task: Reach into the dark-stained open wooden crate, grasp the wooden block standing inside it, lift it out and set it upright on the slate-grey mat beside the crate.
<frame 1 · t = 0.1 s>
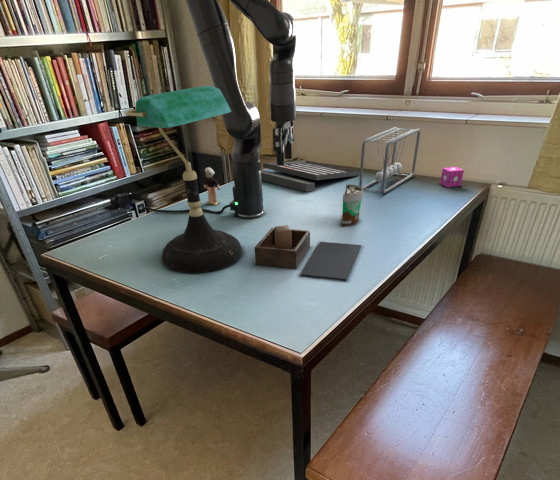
hand: (284, 162, 133), 17 cm above the table, tool pointing down, fingers open, 8 cm apart
food container: (352, 221, 138), on the table
wooden block: (283, 256, 119), resting in crate
grandmother figurine: (213, 204, 158), on the table
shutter: (306, 177, 181), on the table
crate: (283, 255, 119), on the table
mat: (332, 260, 115), on the table
puzzle toy: (449, 185, 164), on the table
banker's lamp: (203, 256, 122), on the table
newton's cradle: (387, 184, 169), on the table
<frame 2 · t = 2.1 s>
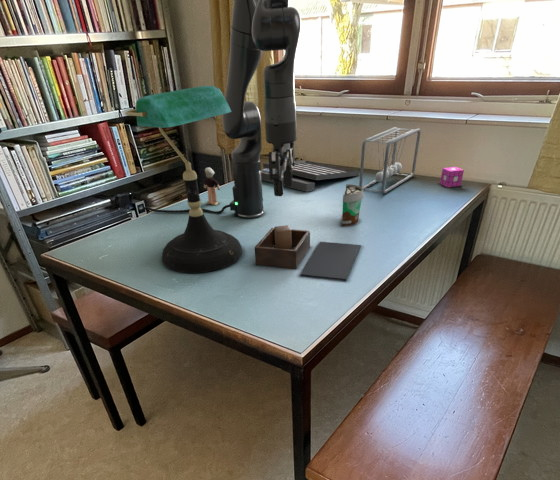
hand: (283, 190, 109), 17 cm above the table, tool pointing down, fingers open, 8 cm apart
nothing on the table moved.
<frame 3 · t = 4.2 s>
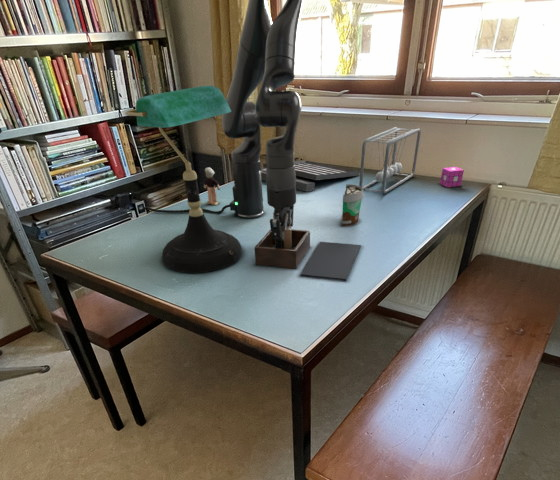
hand: (283, 248, 118), 2 cm above the table, tool pointing down, fingers closed on wooden block, 5 cm apart
wooden block: (283, 256, 119), resting in crate, touching gripper
everything else where it was.
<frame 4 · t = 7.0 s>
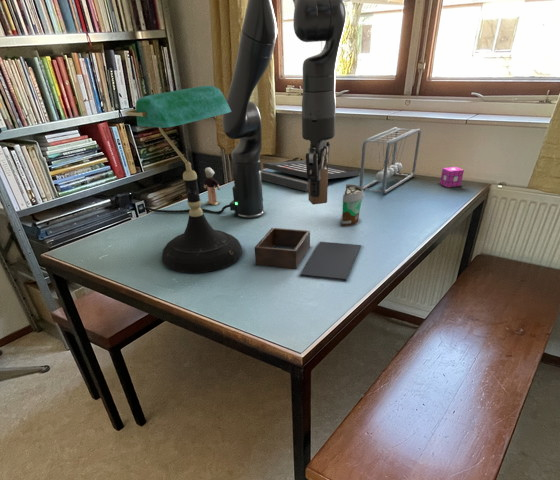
hand: (317, 192, 105), 18 cm above the table, tool pointing down, fingers closed on wooden block, 5 cm apart
wooden block: (317, 202, 107), point 15 cm above the table, touching gripper
everything else where it was.
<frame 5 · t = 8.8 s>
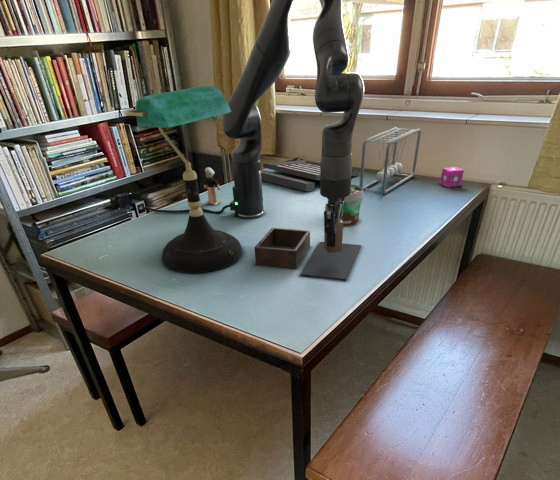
hand: (333, 241, 112), 5 cm above the table, tool pointing down, fingers closed on wooden block, 5 cm apart
wooden block: (332, 250, 114), point 3 cm above the table, touching gripper
everything else where it was.
when the fingers open (3 cm above the table, at t = 10.1 s): wooden block stays where it is, resting on mat.
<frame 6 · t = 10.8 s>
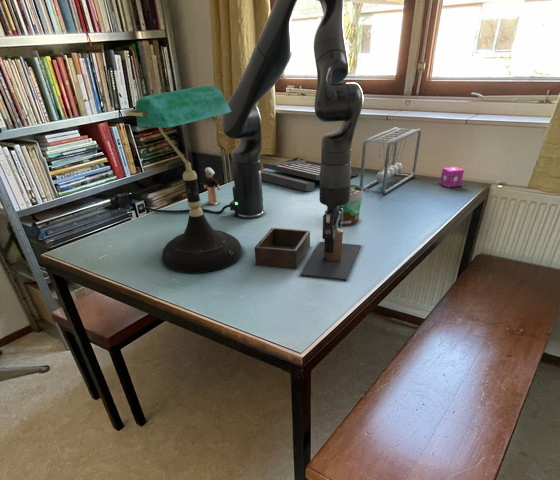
hand: (332, 245, 113), 4 cm above the table, tool pointing down, fingers open, 8 cm apart
wooden block: (332, 259, 115), resting on mat
everything else where it was.
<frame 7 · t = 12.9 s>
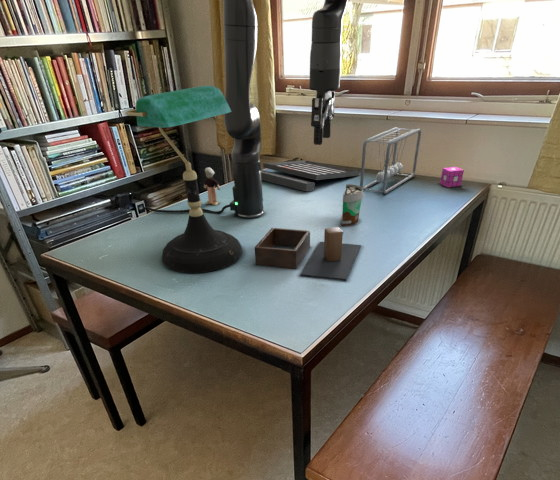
hand: (322, 141, 112), 26 cm above the table, tool pointing down, fingers open, 8 cm apart
nothing on the table moved.
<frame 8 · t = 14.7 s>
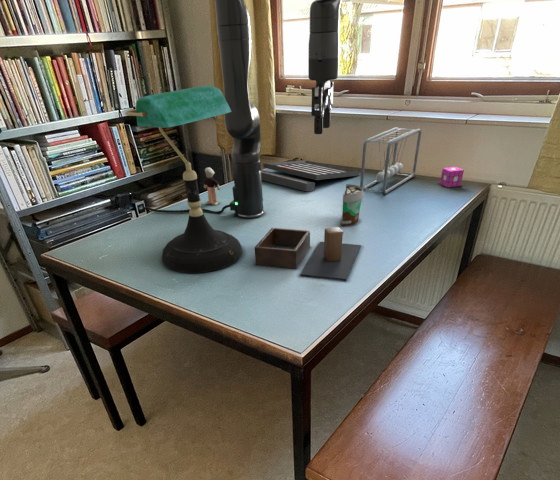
hand: (322, 130, 114), 28 cm above the table, tool pointing down, fingers open, 8 cm apart
nothing on the table moved.
at the end: wooden block inside the target area on the mat (0.1 cm from its centre), point 0.3 cm above the mat's base; wooden block tilted 0°; the gripper is holding nothing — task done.
